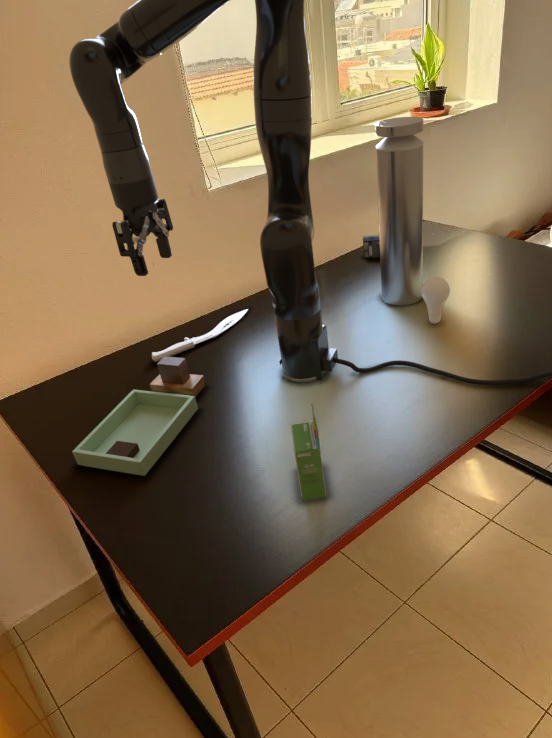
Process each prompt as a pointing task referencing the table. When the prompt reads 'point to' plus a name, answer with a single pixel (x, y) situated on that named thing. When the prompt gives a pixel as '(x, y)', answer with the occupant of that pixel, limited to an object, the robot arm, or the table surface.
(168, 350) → the knife
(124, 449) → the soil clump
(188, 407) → the tray
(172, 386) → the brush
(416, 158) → the silver metal canister
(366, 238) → the mini dv tape
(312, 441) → the ink box
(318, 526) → the table surface
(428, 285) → the lightbulb
